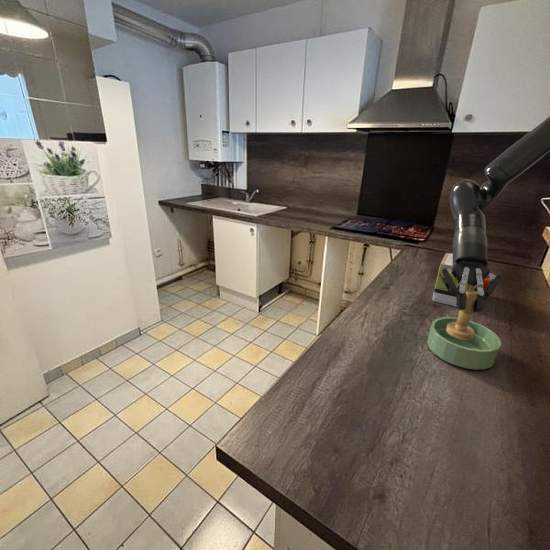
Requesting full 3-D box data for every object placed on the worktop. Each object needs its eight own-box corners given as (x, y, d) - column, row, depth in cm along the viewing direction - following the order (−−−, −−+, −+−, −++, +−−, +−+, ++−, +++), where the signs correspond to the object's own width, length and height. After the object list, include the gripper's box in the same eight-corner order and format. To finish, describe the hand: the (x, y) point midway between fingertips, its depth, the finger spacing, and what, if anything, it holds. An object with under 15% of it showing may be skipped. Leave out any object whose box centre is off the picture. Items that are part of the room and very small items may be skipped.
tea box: (437, 286, 116) (446, 251, 110) (466, 293, 111) (477, 256, 105) (431, 301, 105) (440, 262, 99) (463, 309, 99) (475, 269, 94)
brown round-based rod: (456, 324, 79) (468, 285, 74) (478, 337, 74) (492, 295, 69) (440, 329, 77) (451, 288, 72) (461, 342, 72) (475, 299, 67)
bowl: (453, 330, 88) (458, 312, 85) (508, 362, 74) (515, 342, 72) (414, 341, 82) (418, 323, 80) (465, 378, 69) (472, 357, 67)
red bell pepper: (465, 291, 112) (470, 273, 109) (483, 292, 111) (488, 274, 108) (471, 298, 107) (477, 280, 104) (490, 300, 106) (496, 281, 103)
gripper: (444, 238, 75) (442, 301, 69) (508, 243, 71) (511, 311, 65) (436, 251, 82) (433, 310, 76) (493, 257, 78) (495, 319, 72)
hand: (469, 310), depth 70 cm, fingers closed on brown round-based rod, 2 cm apart
